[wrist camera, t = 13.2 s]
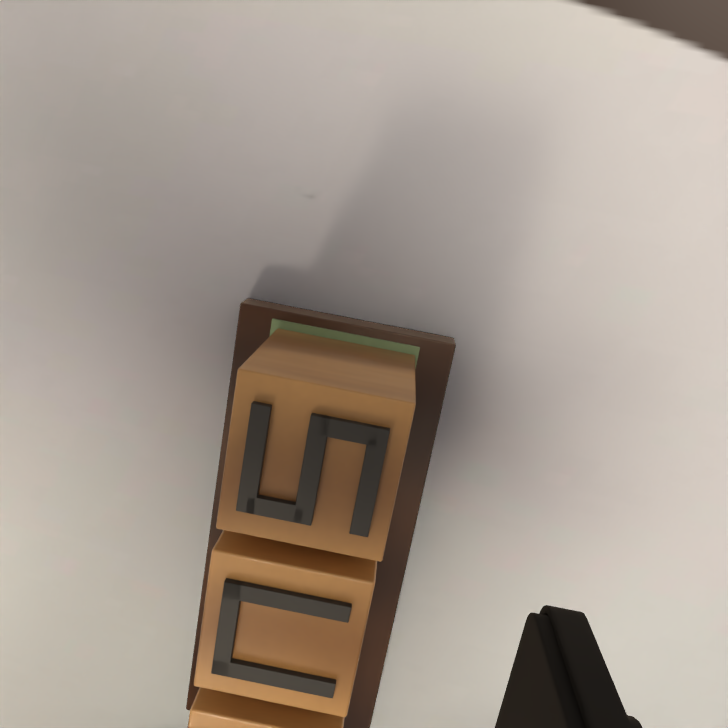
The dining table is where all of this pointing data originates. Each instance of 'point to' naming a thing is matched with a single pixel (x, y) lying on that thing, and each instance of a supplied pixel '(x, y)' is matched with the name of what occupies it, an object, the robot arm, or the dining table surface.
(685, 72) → the dining table surface
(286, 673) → the word rack
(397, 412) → the letter block S
